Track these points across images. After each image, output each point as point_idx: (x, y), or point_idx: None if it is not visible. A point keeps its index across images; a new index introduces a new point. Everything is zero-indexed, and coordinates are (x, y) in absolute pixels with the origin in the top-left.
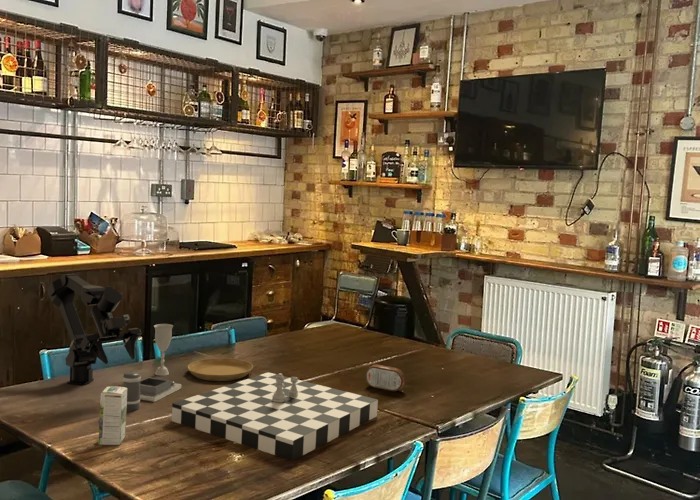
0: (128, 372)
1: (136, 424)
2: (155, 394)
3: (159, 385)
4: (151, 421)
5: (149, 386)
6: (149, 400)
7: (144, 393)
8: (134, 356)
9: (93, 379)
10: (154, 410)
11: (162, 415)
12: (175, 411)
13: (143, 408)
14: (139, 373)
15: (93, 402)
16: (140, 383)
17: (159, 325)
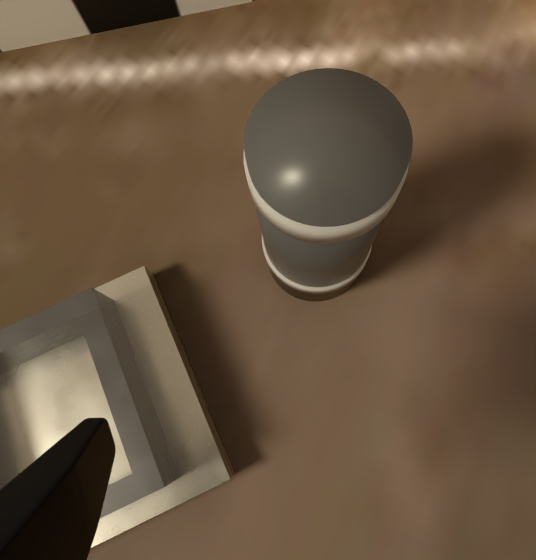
0: (334, 196)
1: (406, 43)
2: (111, 300)
3: (40, 316)
4: (329, 40)
5: (106, 338)
6: (164, 303)
7: (145, 373)
8: (73, 431)
9: None
10: (234, 156)
11: (244, 77)
12: None
13: None
14: (262, 111)
15: (460, 502)
16: None
17: None
